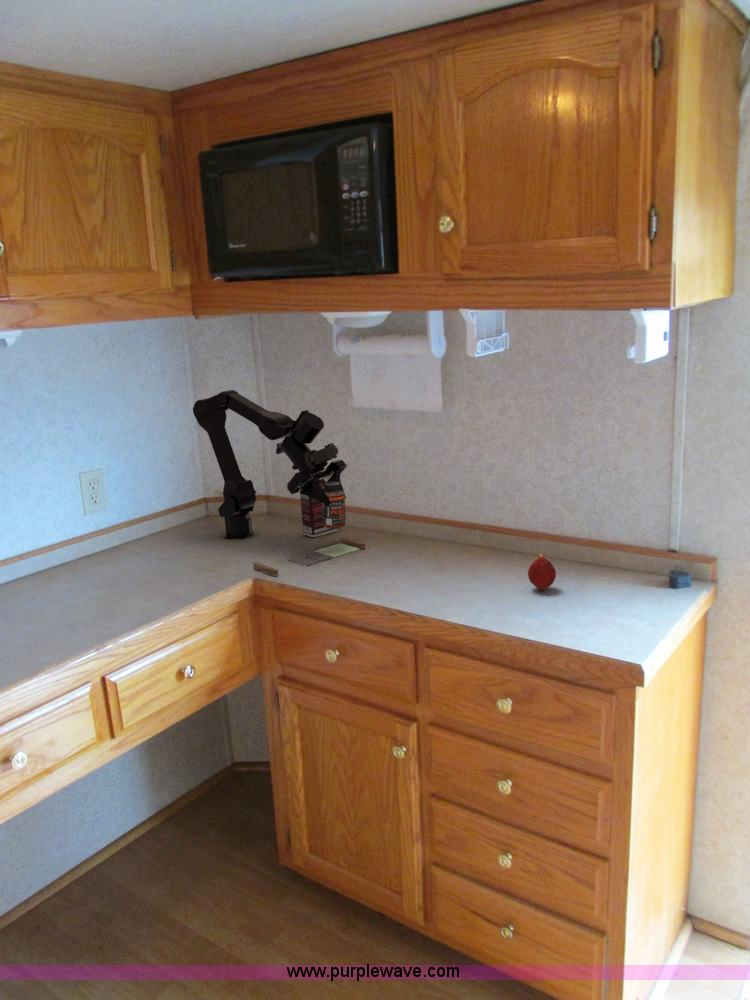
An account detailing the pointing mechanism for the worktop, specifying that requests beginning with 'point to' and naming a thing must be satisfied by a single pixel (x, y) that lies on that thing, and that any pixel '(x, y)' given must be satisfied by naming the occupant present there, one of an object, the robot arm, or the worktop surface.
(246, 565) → the worktop surface
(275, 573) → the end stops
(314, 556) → the pads
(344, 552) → the pad
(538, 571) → the onion
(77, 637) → the worktop surface
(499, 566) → the worktop surface
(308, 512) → the supplement box
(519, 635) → the worktop surface
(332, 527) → the supplement bottle
